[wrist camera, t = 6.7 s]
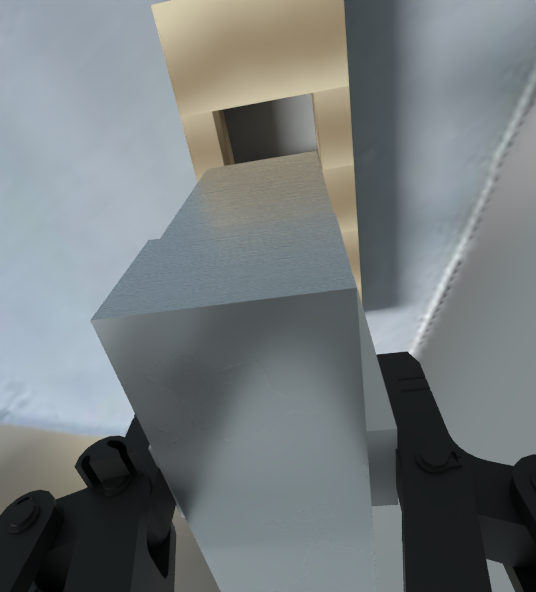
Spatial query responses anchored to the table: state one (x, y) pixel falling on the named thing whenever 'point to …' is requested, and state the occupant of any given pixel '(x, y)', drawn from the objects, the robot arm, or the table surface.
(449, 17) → the table surface
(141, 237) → the table surface
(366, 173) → the table surface
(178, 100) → the wooden block with holes
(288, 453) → the grey u-shaped block
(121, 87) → the table surface
